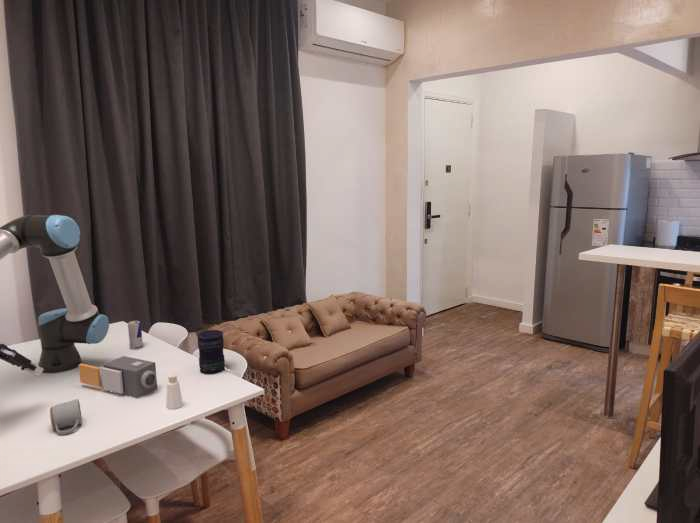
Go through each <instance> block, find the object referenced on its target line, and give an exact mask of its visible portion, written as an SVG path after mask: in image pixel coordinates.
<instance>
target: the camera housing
mask: <svg viewBox="0 0 700 523" xmlns="http://www.w3.org/2000/svg"><path fill="white" fill-rule="evenodd" d="M103 367H104V368H109V369H113V370H118V371H122V381H123V392H124V393H122V394H123V396H126V395H127V397H130V396H131V398H134V397H135V399H139V397H140V398H142V397H143V396H145V395H148V394H149V393H151V392H152V391H155V390H156V389H158V382H157V381H158V379H157V370H156V367H157V366H156V362H154V361H149V360H144V359H140V358H135V357H131V356H125V355H123V356H120V357H117V358H115V359H113V360H110V361H108V362H105V363H103V364H102V368H103ZM122 394H120V393H119V395H122ZM141 396H142V397H141Z"/></svg>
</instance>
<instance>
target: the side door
mask: <svg viewBox="0 0 700 523" xmlns="http://www.w3.org/2000/svg"><path fill="white" fill-rule="evenodd" d="M77 367H78V372H79V374H78V375H79V381H80V383H82V384H84V385H89V386H94V387H96V388H97V387H98V388H100V389H101V390H105V391H106V390H108V391H107V392H110V391H112V392H111V393H114V392H116V394H118V393H120V394H119V395H122V393H124V392H123V381H122V371H118V370H113V369H109V368H104V367H103V365H102V366H101V365H100V366H96V365H95V366H94V365H90V364H86V363H81V364H79V365H78V366H77Z"/></svg>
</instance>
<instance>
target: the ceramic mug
mask: <svg viewBox="0 0 700 523" xmlns="http://www.w3.org/2000/svg"><path fill="white" fill-rule="evenodd" d="M81 411H82V410H81V405H80V399H78V398H76V399H73V400H70V401H69V400H68V401H66V402H62V403H59V404H55V405H51V407H50V408H49V414H50V416H49V417H50V422H51V427H52V428H53V429H55V430H56V431H55V432H56V433H57V434H59V435H61V436H66V435H71V434H72V433H74V432H75V431H76V430H77V428H78V425H81V424H83V419H82V418H83V417H82V412H81ZM66 427H72V428H70V429H68V430H60V429H64V428H66Z"/></svg>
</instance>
